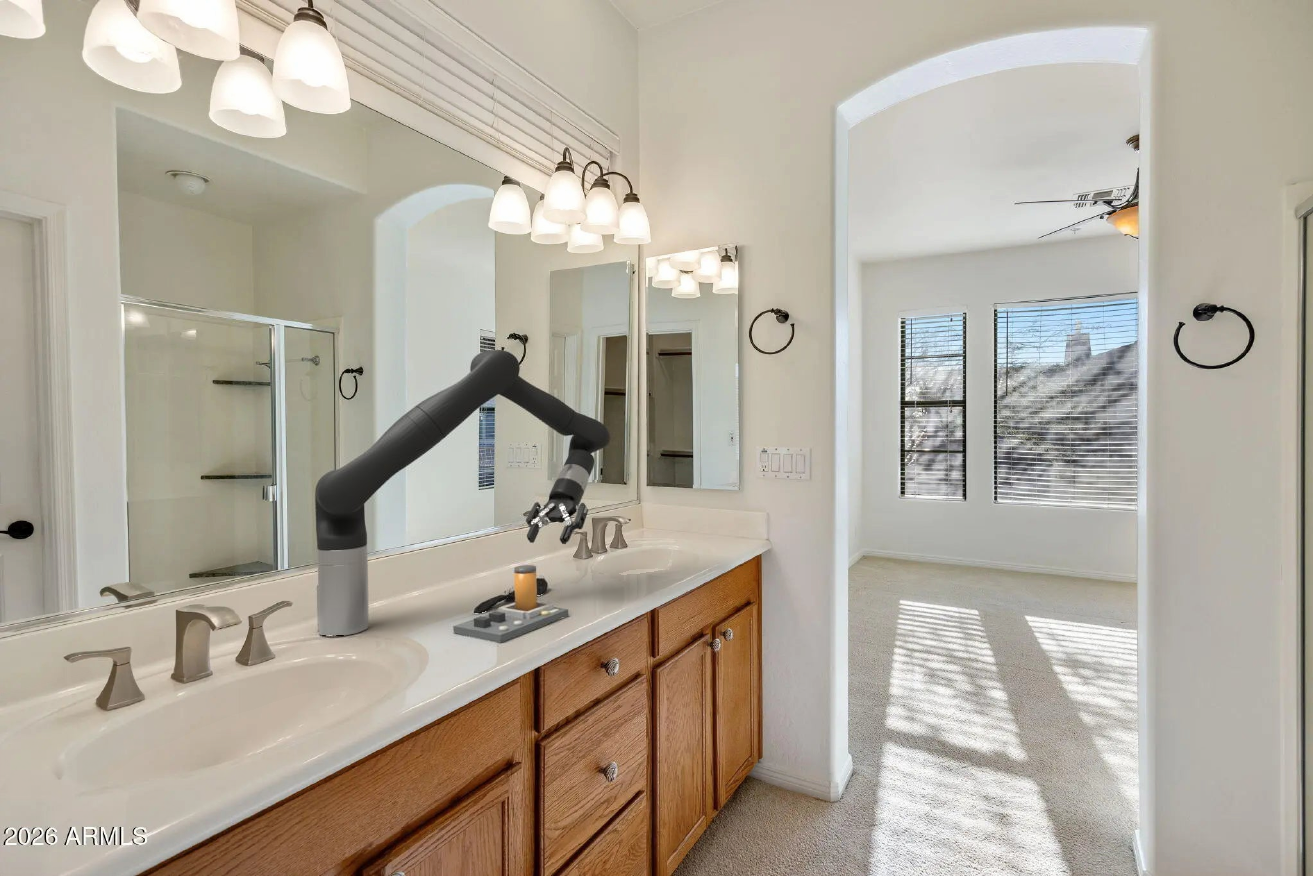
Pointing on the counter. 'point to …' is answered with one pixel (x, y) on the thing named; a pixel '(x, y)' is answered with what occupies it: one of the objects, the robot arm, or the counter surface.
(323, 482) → the robot arm
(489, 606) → the hairbrush
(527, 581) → the orange lidded container
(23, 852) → the counter surface
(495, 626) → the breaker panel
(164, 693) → the counter surface
